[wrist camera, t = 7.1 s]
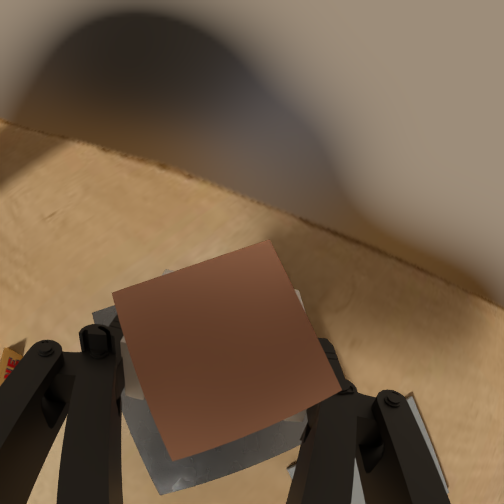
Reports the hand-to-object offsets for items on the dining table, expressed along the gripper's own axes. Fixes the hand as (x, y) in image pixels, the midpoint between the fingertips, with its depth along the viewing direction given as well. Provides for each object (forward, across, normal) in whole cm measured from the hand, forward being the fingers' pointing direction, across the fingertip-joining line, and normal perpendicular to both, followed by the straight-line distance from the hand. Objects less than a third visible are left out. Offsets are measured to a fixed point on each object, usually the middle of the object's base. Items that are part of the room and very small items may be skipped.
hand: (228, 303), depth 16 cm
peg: (+1, 0, -6) cm, 6 cm away
